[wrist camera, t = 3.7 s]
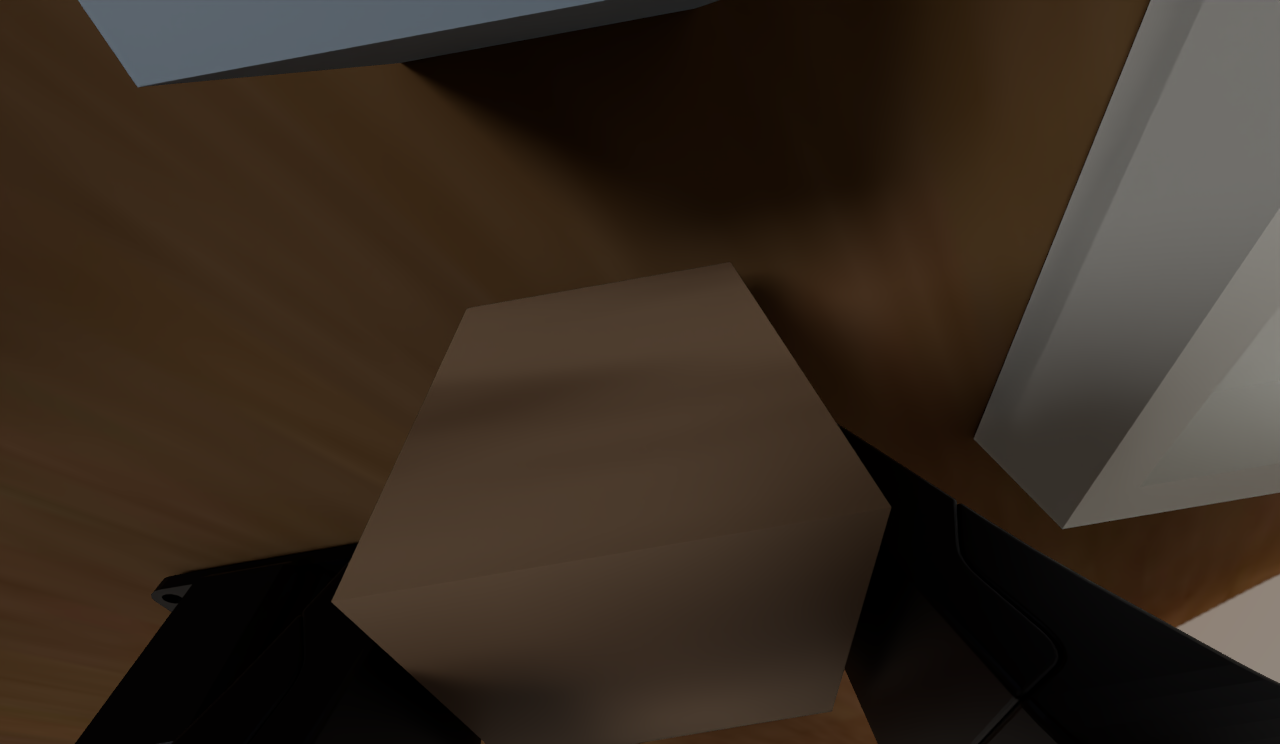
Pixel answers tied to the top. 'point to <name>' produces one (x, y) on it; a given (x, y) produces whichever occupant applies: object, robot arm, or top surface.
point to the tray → (1160, 287)
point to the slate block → (331, 31)
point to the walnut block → (620, 521)
